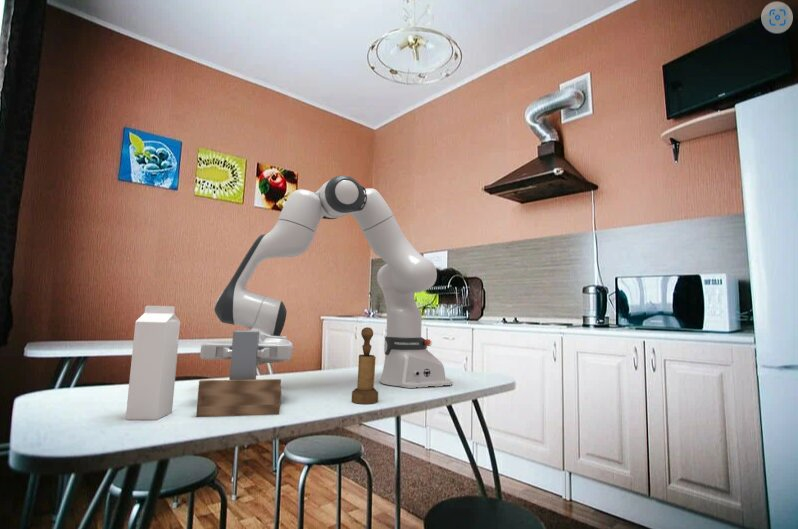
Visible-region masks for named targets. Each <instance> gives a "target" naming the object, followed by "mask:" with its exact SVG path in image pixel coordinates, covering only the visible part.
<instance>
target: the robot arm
mask: <svg viewBox="0 0 798 529" xmlns="http://www.w3.org/2000/svg"><path fill="white" fill-rule="evenodd" d="M347 215H350V216H351V217H353V218H354V219H355V221H356V222H357V223H358V225H359V227H360V230H361V231H362V234H363V235H364V237H365V239H366V241H367V242H368V245H369V246H370V248H371V251H372V252H373V254H375V255H376V256H378V257H379V258H380V259H381V260H383V262H385V264H384V265H382V266H381V267H380V268H379V269H378V271H377V273H376V274H377V275H376V281H377V284H378V286H379V288H380V289H381V291H382V293H383V297H384V303H385V309H386V336H384V337H385V338H384V346H383V347H384V348H383V349H384V350H383V351H384V352H383V353H384V362H383V368H382V373H381V377H380V379H379V383H380V384H384V385H387V386H388V385H389V386H395V387H402V388H408V389H417V388H416V387H418V388H429V387H428V386H435V387H444V386H443V385H450V386H452V385H453V381H452V380H451V379H450V378H448V377H446V371H445V366H444V364H443V362H442V361H440V360H439V359H438V358H437V357H436V356H435V355H434V354H433V353H432V352H430V351H429V350H427V349H428V347H431V346H432V344H433V342H432V341H431V339H425V337H422V322H423V321H422V320H423V319H422V318H423V317H422V316H423V315H422V312H421V310H420V308H419V307H418V305H417V303H416V300H415V293H421V292H425V291H426V290H429V289H430V288H432V287H433V286H434V285H435V284H436V281H437V278H438V276H437V275H438V273H437V268H436V265H435V264H434V263H433V262H432V261H431V260H430V259H428V258H426V257H425V256H423V255H422V254H421V253H420V252H418V250H417V249H416V248H415V247H414V246H413V245H412V243H410V241H409V240H408V239H407V237H406V236H405V233H404V232H403V230H402V229H401V227H400V225H399V222H398V221H397V219H396V217H395V215H394V213H393V211H392V209H391V208H390V206H389V205H388V203H387V202H386V200H385V199H384V197H383V196H382V195H381V193H380V192H379V191H378V190H377V189H375V188H373V187H372V188H365V187H364V186H362V185H361V184H360V183H359V182H358V181H357V180H356V179H355V178H353V177H351V176H349V175H336V176H334V177H331V179H329V180H327V181H326V182H325V183H323V184H322V185H321V187H320V188H318V189H317V190H316V191H311V190H308V189H303V188H302V189H301V188H299V189H296V190H294V191H292V193H290V195H289V196H288V198H287V200H286V202H285V203H284V206H283V207H282V209H281V211H280V213H279V216H278V218H277V222H276V223H275V225H274V227H273V228H272V229H271V230H270V231H269V232H268V233H264V234H260V235H259V236H258V237H257V238H256V239H255V241H253V243H252V245H251V246H250V248H249V249H248V251H247V252H246V254H245V256H244V257H243V259H242V261H241V262H240V264H239V266H238V267H237V269H236V271H235V272H234V274H233V276H232V277H231V279H230V280H229V282H228V284H227V285H226V287H225V289H224V290H223V291H222V292H221V293H220V295H219V296H218V297H217V300H216V302H215V304H214V305H215V306H214V310H213V311H214V312H215V315H216V317H217V319H219V321H220V322H221V323H223V324H226V325H227V324H228V325H232V326H233V325H234V326H235V325H236V326H238V327H243V328H246V329H249V330H247V331H259V344H258V350H257V355H256V358H257V366H260V365H264V364H273V363H274V364H275V363H283V362H286V361H290V360H291V359H292V358H293V357H292V354H293V344H292V341H290V340H288V337H287V336H285V335H281V334H282V332H283V329H284V326H285V323H286V319H287V307H286V306H285V304H284V302H283V301H282V300H280V299H276V298H273V297H269V296H267V295H262V294H259V293H256V292H253V291H250V290H248V289H246V286H247V284H248V283H249V281H250V279H251V278H252V276H253V274H254V273H255V272H256V270H257V267H258V266H259V265H260V264H261V263H262V262H263V261H265V260H268V259H273V258H274V259H275V258H276V259H277V258H293V257H298V256H300V255H303V254H304V253H306V252H307V251H308V250H309V249H310V247H311V245H312V243H313V240H314V237H315V235H316V232H317V229H318V225H319V223H320V222H321V220H322V219H324V220H336V219H338V218H342V217H345V216H347ZM231 353H232V341H223V340H221V341H220V340H217V341H215V340H214V341H207V342H203V343H202V344H201V345H200V354H199V356H200V359H201V360H206V361H207V360H209V361H211V360H214V361H215V360H222V361H223V360H224V361H225V360H227V361H228V360H230V361H231ZM451 384H452V385H451Z"/></svg>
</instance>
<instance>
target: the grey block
mask: <svg viewBox="0 0 798 529" xmlns="http://www.w3.org/2000/svg"><path fill="white" fill-rule="evenodd" d="M231 342H232V353H231V360H230V368H229V379H228V380H257V368H258V365H257V358H256V355H257V350H258V344H259V331H248V330H239V329H238V330H237V329H236V330H233V331H232V341H231Z"/></svg>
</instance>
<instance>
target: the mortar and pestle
mask: <svg viewBox="0 0 798 529" xmlns="http://www.w3.org/2000/svg"><path fill="white" fill-rule="evenodd" d="M360 333H361V337H362V339H363V345H362V352H363V354H359V355H358V365H357V366H358V367H357V368H358V369H357V371H358V372H357V385H356V386H357V387H356V388H354V389H353V390H352V391H351V402H352V403H355V404H360V405H373V404H375V403H376V404H377V403H378V402H379V391H378V390H377V389H376V388H375V387H374V388H373V378H374V379H375V376H374V356H375V355H374V354H371V350H372V345H371V343H370V342H371V341H372V338H373V336H374V330H373V328H371V327H364V328H362V330H361V332H360Z"/></svg>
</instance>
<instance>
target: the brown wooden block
mask: <svg viewBox="0 0 798 529" xmlns="http://www.w3.org/2000/svg"><path fill="white" fill-rule="evenodd" d="M281 383H282V379H281V378H276V379H275V378H274V379H272V378H271V379H270V378H267V379H264V378H263V379H262V378H260V379H257V378H256V380H229V379H200V380H198V390H197V391H198V392H197V401H196V403H197V404H196V415H195V417H196V418H201V417H202V418H203V417H205V418H207V417H232V416H233V417H234V416H259V415H260V416H263V415H264V416H265V415H280V411H281V410H280V408H281V403H282V402H281V399H282V392H283V390H282V385H281Z"/></svg>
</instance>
